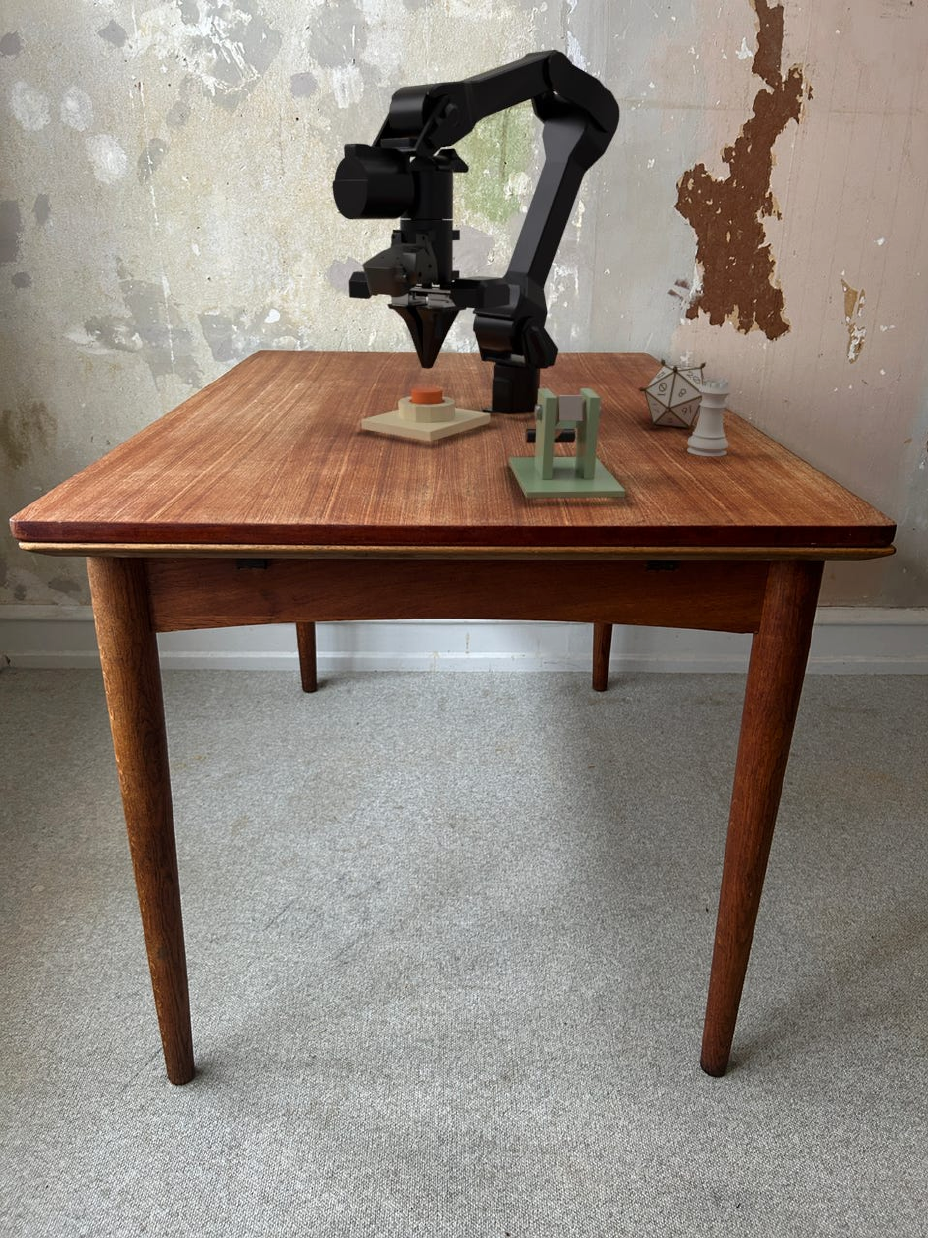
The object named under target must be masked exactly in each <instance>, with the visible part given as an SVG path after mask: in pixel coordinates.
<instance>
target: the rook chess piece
mask: <svg viewBox="0 0 928 1238" xmlns="http://www.w3.org/2000/svg"><path fill="white" fill-rule="evenodd" d="M699 391H700V393H701V395H702V401H701V403H700V404H699V405H700V407H701V408H700V415H699V417H698V418H697V424H696V426H695V428H694V431H692V435H691V436H690V437H689V438H688V439H687V441H686V444H687V445H688V448H687V449H686V451H687V452H688V453H690V454H692V455H696V456H703V457H721V456H726V454H728V452H727V451H726V449H727V448H728V447H729V442H728V440H727V439H726V433H725V429H724V414H725V408H727V405H726V398H727V397H728V396H729V395H730V394H731V393H732V390H730V388H729V381H728V380H725V379H720V380H719V382H717V378H711V381H710V379H708V378H707V379H704V380H703V385H702V386H701V388H700V389H699Z"/></svg>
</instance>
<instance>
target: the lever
mask: <svg viewBox="0 0 928 1238" xmlns="http://www.w3.org/2000/svg"><path fill="white" fill-rule="evenodd" d="M556 397H557V405H556V422H555V440H554V444H574V443H575V442H576V429H577V428H578V426H579V425H580V424H581V422H582V421H583V410H582V395H580V394H558V395H557V396H556ZM524 440H525V443H526V444H536V428H526V429H525V433H524Z"/></svg>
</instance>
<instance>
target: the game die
mask: <svg viewBox="0 0 928 1238" xmlns="http://www.w3.org/2000/svg"><path fill="white" fill-rule="evenodd" d="M660 363H661V365H662V367H661V368H660V369H659V370H658V372H657V373H656V374H655V376H654V377H653V378H652V379H651V380H650V382H649V383H648V384H647V385H646V386H645V387H644V386H640V387H637V390H638V391H639V392H644V396H645V399H646V402H647V406H648V410H649V413H650V417H651V420H652V421H651V422H652V423H650V426H665V427H673V428H674V427H676V428H685V429H689V430H693V429H694V428H693V427H692V426H693V425H694V424H695V423H696V421H698V419H699V415H700V408H701V407H700V405H699V404H700V403H701V401H702V395H701V393H700V391H699V389H700V388H701V386H702V385H703V380H704V381H705V377H704V373H703V369H705V367H706V365H707V362H706V361H704V362H702V363H701V364H700V366H688V365H687V366H686V365H674V364H667V363H666V360H665V359H663V358H661V360H660Z"/></svg>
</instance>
